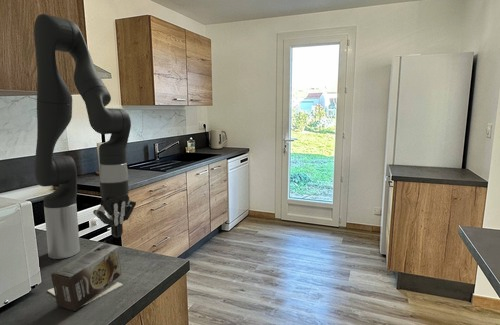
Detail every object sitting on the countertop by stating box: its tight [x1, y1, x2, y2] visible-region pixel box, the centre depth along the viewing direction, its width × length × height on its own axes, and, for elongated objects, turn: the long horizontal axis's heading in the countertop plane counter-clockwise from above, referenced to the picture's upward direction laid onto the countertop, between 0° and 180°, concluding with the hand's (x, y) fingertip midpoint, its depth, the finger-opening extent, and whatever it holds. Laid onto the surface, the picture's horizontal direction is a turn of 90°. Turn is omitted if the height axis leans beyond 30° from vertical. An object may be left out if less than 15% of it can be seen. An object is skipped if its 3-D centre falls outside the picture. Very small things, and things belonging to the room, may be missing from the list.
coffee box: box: [50, 243, 123, 312], centre depth 82 cm, size 9×6×16 cm
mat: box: [47, 279, 124, 308], centre depth 85 cm, size 14×13×1 cm
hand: (117, 236), depth 92 cm, fingers closed
